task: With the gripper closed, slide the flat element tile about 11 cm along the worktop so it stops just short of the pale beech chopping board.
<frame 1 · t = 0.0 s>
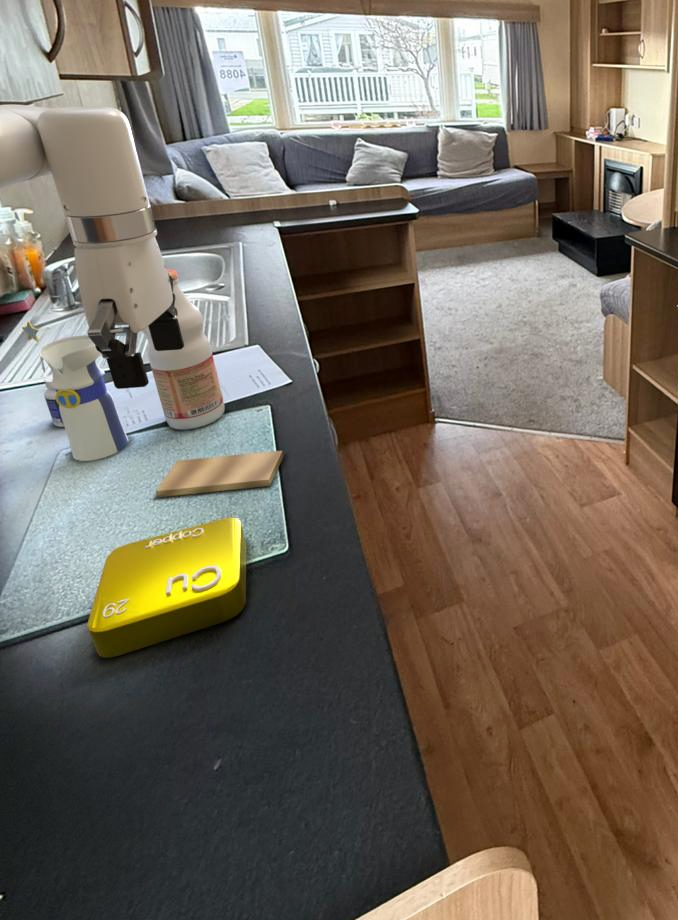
hand: (152, 366, 76), 28 cm above the counter, tool pointing down, fingers open, 9 cm apart
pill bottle: (72, 420, 119), on the counter
chopping board: (223, 476, 103), on the counter
element tile: (179, 595, 81), on the counter
fruit juice: (197, 418, 120), on the counter
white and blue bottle: (102, 449, 110), on the counter
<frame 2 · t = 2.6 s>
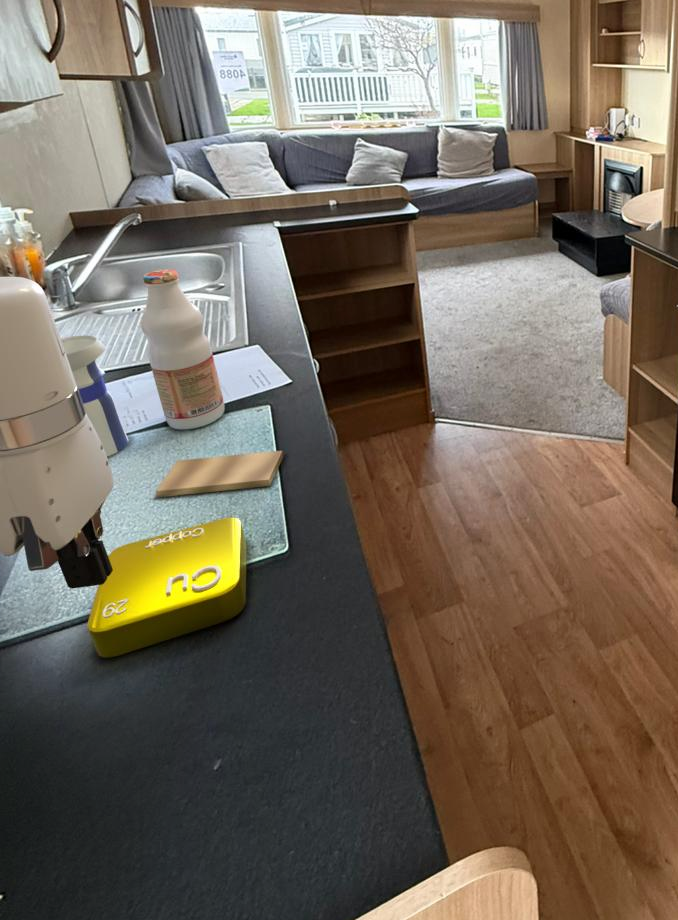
hand: (91, 580, 63), 15 cm above the counter, tool pointing down, fingers closed
nothing on the counter moved.
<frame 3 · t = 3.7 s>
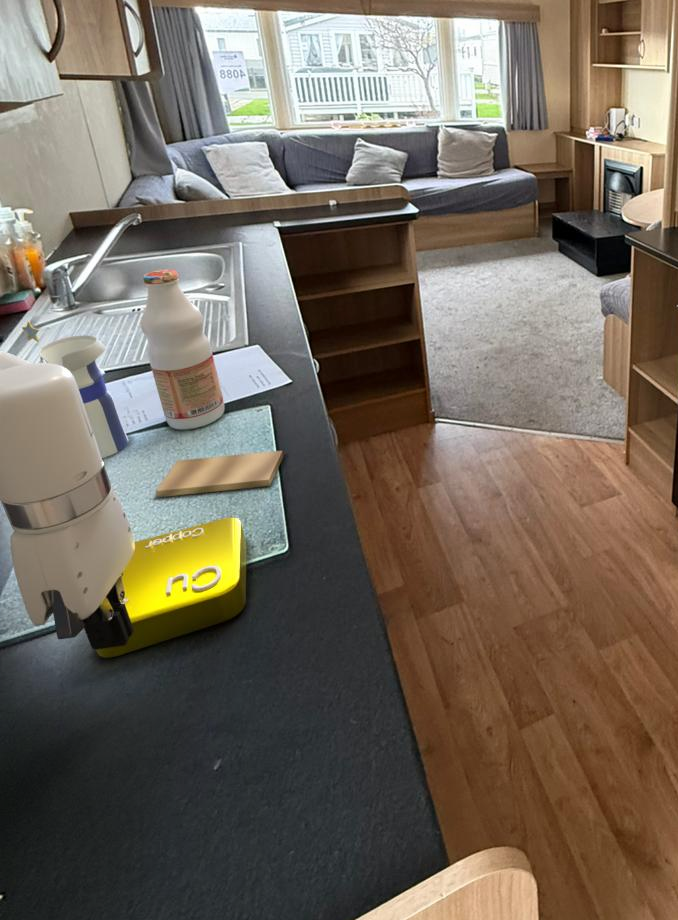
hand: (113, 640, 67), 7 cm above the counter, tool pointing down, fingers closed
nothing on the counter moved.
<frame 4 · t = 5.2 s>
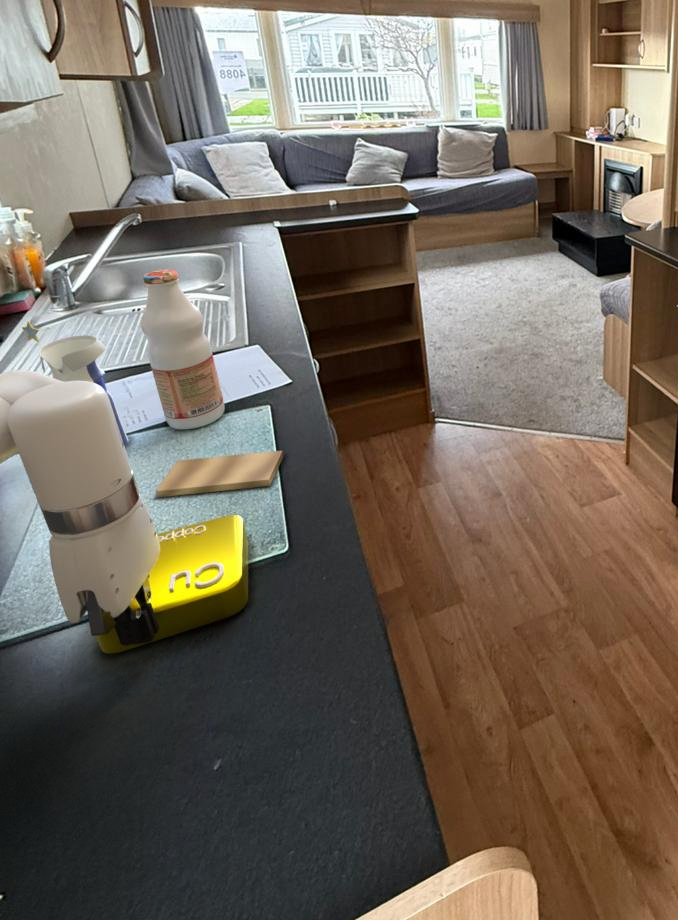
hand: (140, 637, 71), 3 cm above the counter, tool pointing down, fingers closed
element tile: (182, 592, 81), on the counter, touching gripper
everything else where it was.
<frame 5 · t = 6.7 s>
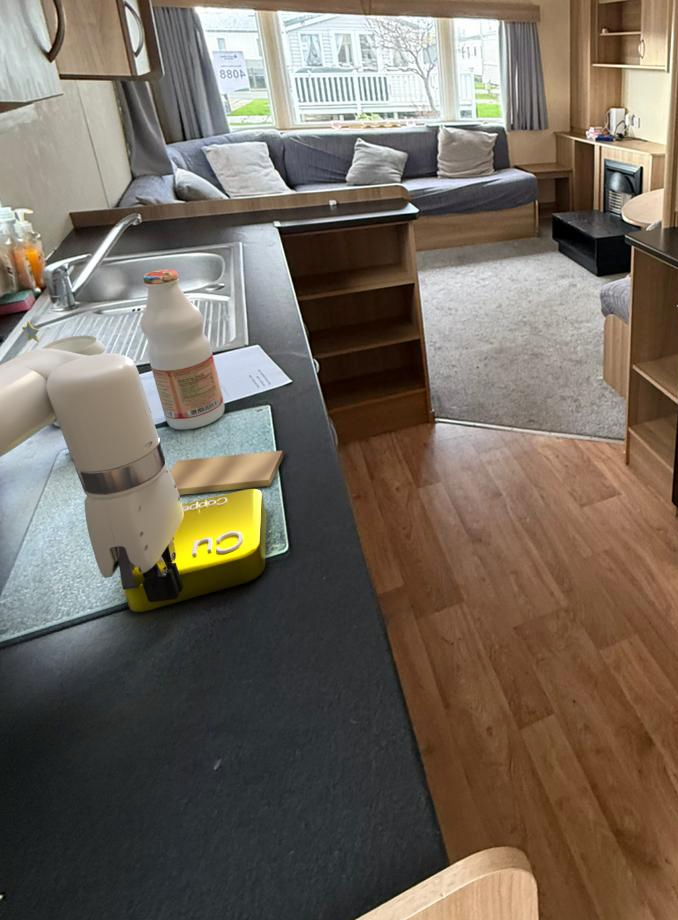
hand: (166, 595, 77), 3 cm above the counter, tool pointing down, fingers closed
element tile: (204, 558, 87), on the counter, touching gripper
everything else where it was.
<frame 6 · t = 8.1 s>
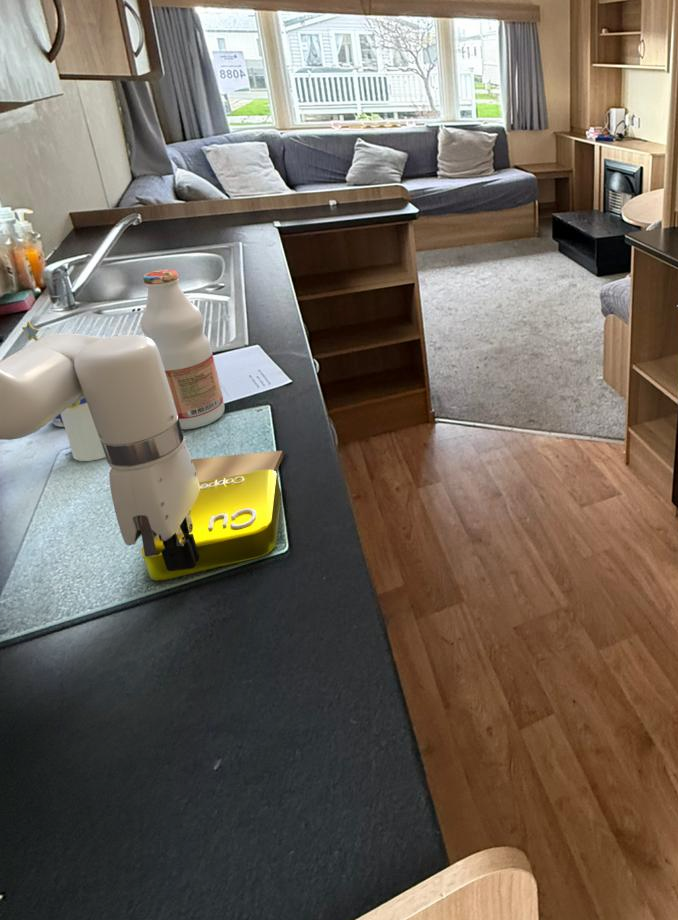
hand: (184, 564, 81), 3 cm above the counter, tool pointing down, fingers closed
element tile: (221, 533, 91), on the counter, touching gripper
everything else where it was.
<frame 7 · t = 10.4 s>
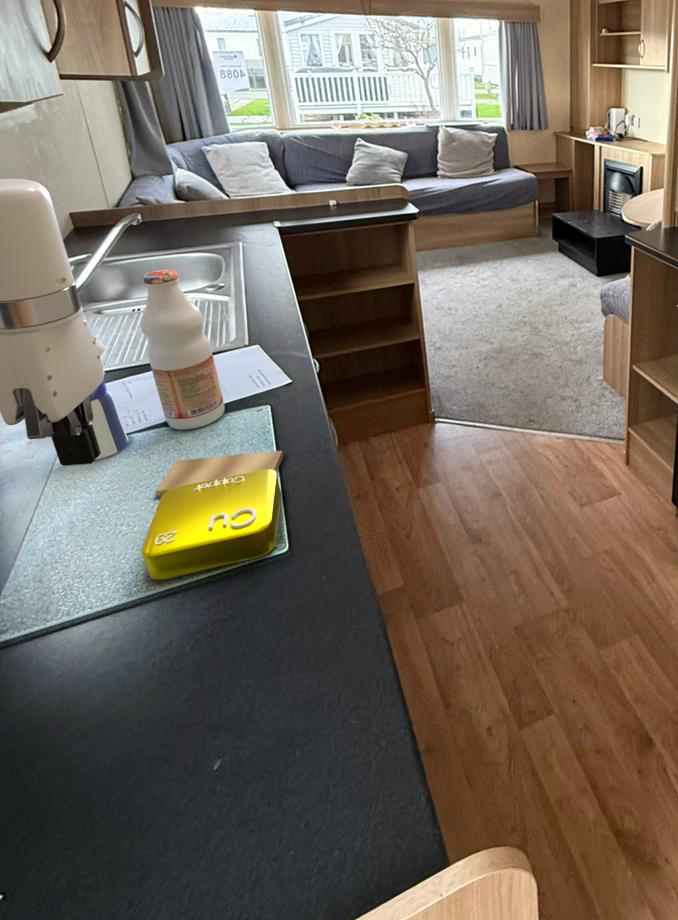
hand: (81, 460, 71), 21 cm above the counter, tool pointing down, fingers closed
element tile: (221, 533, 91), on the counter
everything else where it was.
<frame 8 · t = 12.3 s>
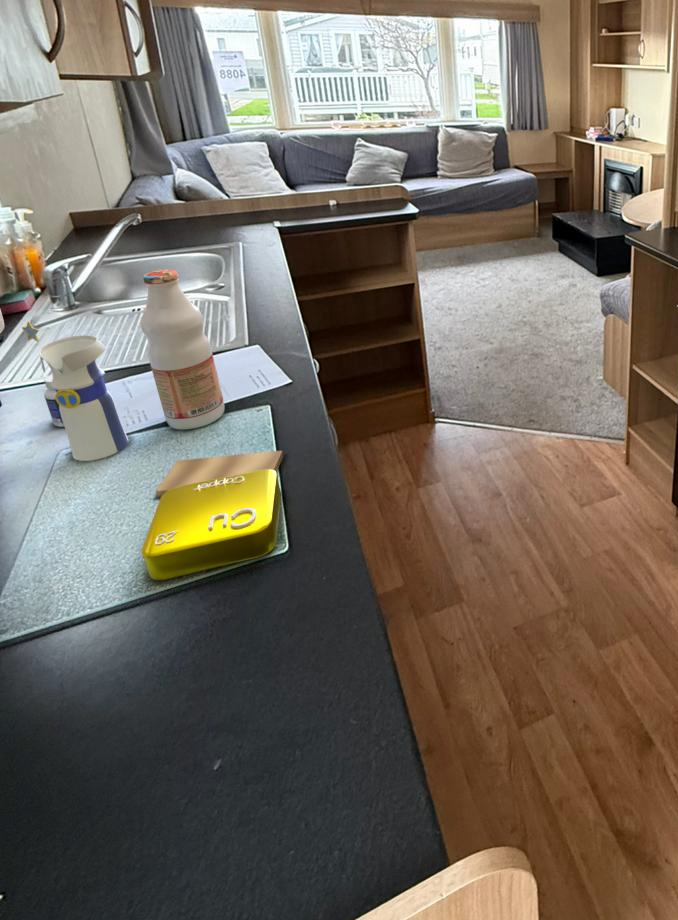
nothing on the counter moved.
at the end: element tile inside the target area (1.2 cm from its centre), on the counter; element tile tilted 0°; element tile touching counter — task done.
